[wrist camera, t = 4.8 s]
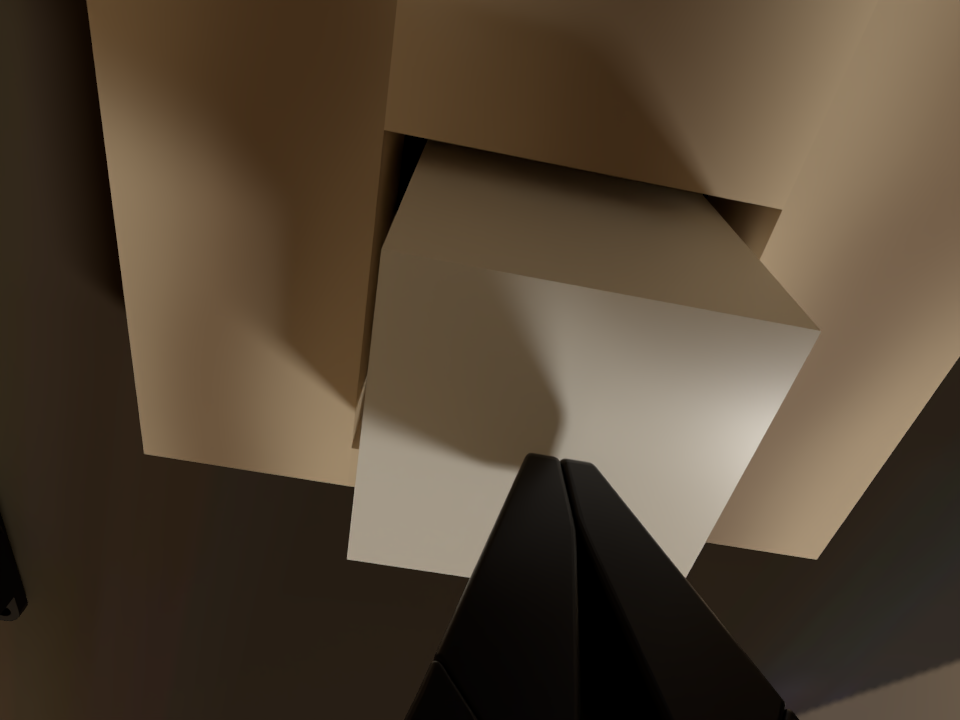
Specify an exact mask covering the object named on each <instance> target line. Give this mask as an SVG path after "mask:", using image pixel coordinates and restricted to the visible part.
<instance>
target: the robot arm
mask: <svg viewBox="0 0 960 720" xmlns="http://www.w3.org/2000/svg"><path fill="white" fill-rule="evenodd" d="M27 605H28V601H27V598H26V595H25V592H24V588H23V585H22V582H21V579H20V575H19V572H18V569H17V566H16V562H15V559H14V556H13V553H12V549H11V546H10V543H9V540H8V536H7V533H6V530H5V527H4V523H3V520H2V517H1V514H0V620H4V621H13V620H16V619H17V618H18V617H19V616H20V615H21V614H22V612H23V611H24V609H25V608H26V607H27ZM404 720H799V719H798V718H797V716H796V715H795V714H794V713H793V711H791V710H790V709H786V710H785V702H784V701H783V699H782V698H781V697H780V696H779V694H778V693H777V692H776V691H775V689H774V688H773V687H772V686H771V684H770V683H769V682H768V681H767V679H766V678H765V677H764V676H763V674H762V673H761V672H760V671H759V669H758V668H757V667H756V666H755V664H754V663H753V662H752V661H751V659H750V658H749V657H748V656H747V654H746V653H745V652H744V651H743V649H742V648H741V647H740V646H739V644H738V643H737V642H736V641H735V639H734V638H733V637H732V636H731V634H730V633H729V632H728V631H727V629H726V628H725V627H724V626H723V624H722V623H721V622H720V621H719V619H718V618H717V617H716V616H715V614H714V613H713V612H712V611H711V609H710V608H709V607H708V606H707V604H706V603H705V602H704V601H703V599H702V598H701V597H700V596H699V594H698V593H697V592H696V591H695V589H694V588H693V587H692V586H691V585H690V583H689V582H688V581H687V580H686V578H685V577H684V576H683V575H682V573H681V572H680V571H679V570H678V568H677V567H676V566H675V565H674V563H673V562H672V561H671V560H670V558H669V557H668V556H667V555H666V553H665V552H664V551H663V550H662V548H661V547H660V546H659V545H658V543H657V542H656V541H655V540H654V538H653V537H652V536H651V535H650V533H649V532H648V531H647V530H646V528H645V527H644V526H643V525H642V523H641V522H640V521H639V520H638V518H637V517H636V516H635V515H634V513H633V512H632V511H631V510H630V508H629V507H628V506H627V505H626V503H625V502H624V501H623V500H622V498H621V497H620V496H619V495H618V493H617V492H616V491H615V490H614V488H613V487H612V486H611V485H610V483H609V482H608V481H607V480H606V478H605V477H604V476H603V475H602V473H601V472H600V471H599V470H598V468H597V467H596V466H595V465H594V464H592V463H590V462H585V461H579V460H573V459H567V458H564V459H562V460H560V461H559V459H558V458H556V457H554V456H549V455H543V454H537V453H528V454H527V455H526V456H525V458H524V460H523V462H522V464H521V467H520V469H519V471H518V473H517V475H516V478H515V480H514V482H513V484H512V487H511V489H510V491H509V493H508V495H507V498H506V500H505V502H504V504H503V506H502V509H501V511H500V513H499V515H498V517H497V520H496V522H495V524H494V526H493V528H492V531H491V533H490V535H489V537H488V539H487V542H486V544H485V546H484V548H483V550H482V553H481V555H480V557H479V559H478V561H477V564H476V566H475V568H474V570H473V573H472V575H471V577H470V579H469V581H468V584H467V586H466V588H465V590H464V592H463V595H462V597H461V599H460V601H459V603H458V606H457V608H456V610H455V612H454V614H453V617H452V619H451V621H450V623H449V625H448V628H447V630H446V632H445V634H444V636H443V639H442V641H441V643H440V645H439V647H438V650H437V652H436V654H435V657H434V661H433V662H432V663H431V664H430V666H429V668H428V671H427V673H426V675H425V677H424V680H423V682H422V684H421V686H420V688H419V691H418V693H417V695H416V697H415V699H414V701H413V703H412V705H411V707H410V709H409V711H408V713H407V715H406V717H405V719H404Z"/></svg>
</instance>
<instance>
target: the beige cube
mask: <svg viewBox="0 0 960 720" xmlns="http://www.w3.org/2000/svg"><path fill="white" fill-rule="evenodd" d="M820 333H821V330H820V329H819V328H818V327H817V325H816V324H815V323H814V322H813V321H812V320H811V319H810V317H809V316H808V315H807V314H806V313H805V312H804V311H803V309H802V308H801V307H800V306H799V305H798V304H797V302H796V301H795V300H794V299H793V298H792V297H791V296H790V294H789V293H788V292H787V291H786V290H785V289H784V288H783V286H782V285H781V284H780V283H779V282H778V281H777V280H776V278H775V277H774V276H773V275H772V274H771V273H770V272H769V270H768V269H767V268H766V267H765V266H764V265H763V263H762V262H761V261H760V260H759V259H758V258H757V257H756V255H755V254H754V253H753V252H752V251H751V250H750V249H749V247H748V246H747V245H746V244H745V243H744V242H743V241H742V239H741V238H740V237H739V236H738V235H737V234H736V233H735V231H734V230H733V229H732V228H731V227H730V226H729V225H728V223H727V222H726V221H725V220H724V219H723V218H722V216H721V215H720V214H719V213H718V212H717V211H716V210H715V208H714V207H713V206H712V205H711V204H710V203H709V202H708V200H707V199H706V198H705V197H704V196H703V195H702V194H698V193H693V192H688V191H683V190H678V189H673V188H668V187H663V186H658V185H653V184H648V183H643V182H638V181H633V180H628V179H623V178H618V177H613V176H608V175H603V174H598V173H593V172H588V171H583V170H578V169H573V168H568V167H563V166H558V165H553V164H548V163H543V162H538V161H533V160H528V159H523V158H518V157H513V156H508V155H503V154H498V153H493V152H488V151H483V150H478V149H473V148H468V147H463V146H458V145H453V144H448V143H443V142H438V141H433V140H427V142H426V145H425V147H424V149H423V152H422V154H421V156H420V159H419V161H418V164H417V166H416V168H415V171H414V173H413V175H412V178H411V180H410V183H409V185H408V187H407V190H406V192H405V194H404V197H403V199H402V201H401V204H400V206H399V209H398V211H397V213H396V216H395V218H394V220H393V223H392V225H391V228H390V230H389V232H388V235H387V237H386V239H385V242H384V244H383V247H382V249H381V256H380V265H379V274H378V284H377V293H376V302H375V311H374V320H373V329H372V338H371V347H370V356H369V365H368V374H367V383H366V392H365V401H364V410H363V419H362V428H361V437H360V446H359V455H358V464H357V473H356V482H355V491H354V500H353V509H352V518H351V527H350V536H349V545H348V554H347V559H348V560H355V561H362V562H369V563H375V564H382V565H389V566H396V567H402V568H409V569H416V570H422V571H429V572H436V573H443V574H449V575H456V576H463V577H471V575H472V573H473V570H474V568H475V566H476V564H477V561H478V559H479V557H480V555H481V553H482V550H483V548H484V546H485V544H486V542H487V539H488V537H489V535H490V533H491V531H492V528H493V526H494V524H495V522H496V520H497V517H498V515H499V513H500V511H501V509H502V506H503V504H504V502H505V500H506V498H507V495H508V493H509V491H510V489H511V487H512V484H513V482H514V480H515V478H516V475H517V473H518V471H519V469H520V467H521V464H522V462H523V460H524V458H525V456H526V455H527V454H528V453H537V454H543V455H549V456H554V457H556V458H558V459H559V461H560V460H562V459H564V458H567V459H573V460H579V461H585V462H590V463H592V464H594V465H595V466H596V467H597V468H598V470H599V471H600V472H601V473H602V475H603V476H604V477H605V478H606V480H607V481H608V482H609V483H610V485H611V486H612V487H613V488H614V490H615V491H616V492H617V493H618V495H619V496H620V497H621V498H622V500H623V501H624V502H625V503H626V505H627V506H628V507H629V508H630V510H631V511H632V512H633V513H634V515H635V516H636V517H637V518H638V520H639V521H640V522H641V523H642V525H643V526H644V527H645V528H646V530H647V531H648V532H649V533H650V535H651V536H652V537H653V538H654V540H655V541H656V542H657V543H658V545H659V546H660V547H661V548H662V550H663V551H664V552H665V553H666V555H667V556H668V557H669V558H670V560H671V561H672V562H673V563H674V565H675V566H676V567H677V568H678V570H679V571H680V572H681V573H682V575H683V576H684V577H685V578H686V576H687V575H688V573H689V571H690V569H691V567H692V566H693V564H694V562H695V560H696V558H697V557H698V555H699V553H700V551H701V549H702V547H703V546H704V544H705V542H706V540H707V538H708V537H709V535H710V533H711V531H712V529H713V527H714V526H715V524H716V522H717V520H718V518H719V517H720V515H721V513H722V511H723V509H724V507H725V506H726V504H727V502H728V500H729V498H730V497H731V495H732V493H733V491H734V489H735V487H736V486H737V484H738V482H739V480H740V478H741V477H742V475H743V473H744V471H745V469H746V467H747V466H748V464H749V462H750V460H751V458H752V457H753V455H754V453H755V451H756V449H757V447H758V446H759V444H760V442H761V440H762V438H763V437H764V435H765V433H766V431H767V429H768V428H769V426H770V424H771V422H772V420H773V418H774V417H775V415H776V413H777V411H778V409H779V408H780V406H781V404H782V402H783V400H784V398H785V397H786V395H787V393H788V391H789V389H790V388H791V386H792V384H793V382H794V380H795V378H796V377H797V375H798V373H799V371H800V369H801V368H802V366H803V364H804V362H805V360H806V358H807V357H808V355H809V353H810V351H811V349H812V348H813V346H814V344H815V342H816V340H817V338H818V337H819V335H820Z"/></svg>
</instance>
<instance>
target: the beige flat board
mask: <svg viewBox="0 0 960 720" xmlns="http://www.w3.org/2000/svg"><path fill="white" fill-rule="evenodd" d="M86 1H87V9H88V17H89V24H90V32H91V40H92V48H93V56H94V64H95V72H96V79H97V87H98V95H99V103H100V111H101V119H102V126H103V134H104V142H105V150H106V158H107V166H108V174H109V181H110V189H111V197H112V205H113V213H114V221H115V228H116V236H117V244H118V252H119V260H120V268H121V276H122V283H123V291H124V299H125V307H126V315H127V323H128V330H129V338H130V346H131V354H132V362H133V370H134V378H135V385H136V393H137V401H138V409H139V417H140V425H141V433H142V440H143V448H144V454H148V455H154V456H161V457H167V458H173V459H180V460H186V461H193V462H199V463H205V464H212V465H218V466H224V467H231V468H237V469H243V470H250V471H256V472H263V473H269V474H275V475H282V476H288V477H294V478H301V479H307V480H313V481H320V482H326V483H333V484H339V485H345V486H352V487H355V482H356V473H357V464H358V455H359V446H360V437H361V428H362V419H363V410H364V401H365V392H366V383H367V374H368V365H369V356H370V347H371V338H372V329H373V320H374V311H375V302H376V293H377V284H378V274H379V265H380V256H381V249H382V247H383V244H384V242H385V239H386V237H387V235H388V232H389V230H390V228H391V225H392V223H393V220H394V218H395V214H396V205H397V197H398V189H399V180H400V172H401V163H402V155H403V147H404V138H405V134H406V135H411V136H416V137H421V138H426V139H431V140H436V141H441V142H446V143H451V144H456V145H461V146H466V147H471V148H476V149H481V150H486V151H491V152H496V153H501V154H506V155H511V156H516V157H521V158H526V159H531V160H536V161H541V162H546V163H551V164H556V165H562V166H566V167H572V168H577V169H582V170H587V171H592V172H597V173H602V174H607V175H612V176H617V177H622V178H627V179H632V180H637V181H642V182H647V183H652V184H657V185H662V186H667V187H672V188H677V189H682V190H687V191H692V192H697V193H702V194H707V195H708V198H707V200H708V202H709V203H710V204H711V205H712V206H713V207H714V208H715V210H716V211H717V212H718V213H719V214H720V215H721V216H722V218H723V219H724V220H725V221H726V222H727V223H728V225H729V226H730V227H731V228H732V229H733V230H734V231H735V233H736V234H737V235H738V236H739V237H740V238H741V239H742V241H743V242H744V243H745V244H746V245H747V246H748V247H749V249H750V250H751V251H752V252H753V253H754V254H755V255H756V257H757V258H758V259H759V260H760V261H761V262H762V263H763V265H764V266H765V267H766V268H767V269H768V270H769V272H770V273H771V274H772V275H773V276H774V277H775V278H776V280H777V281H778V282H779V283H780V284H781V285H782V286H783V288H784V289H785V290H786V291H787V292H788V293H789V294H790V296H791V297H792V298H793V299H794V300H795V301H796V302H797V304H798V305H799V306H800V307H801V308H802V309H803V311H804V312H805V313H806V314H807V315H808V316H809V317H810V319H811V320H812V321H813V322H814V323H815V324H816V325H817V327H818V328H819V329H820V330H821V333H820V335H819V337H818V338H817V340H816V342H815V344H814V346H813V348H812V349H811V351H810V353H809V355H808V357H807V358H806V360H805V362H804V364H803V366H802V368H801V369H800V371H799V373H798V375H797V377H796V378H795V380H794V382H793V384H792V386H791V388H790V389H789V391H788V393H787V395H786V397H785V398H784V400H783V402H782V404H781V406H780V408H779V409H778V411H777V413H776V415H775V417H774V418H773V420H772V422H771V424H770V426H769V428H768V429H767V431H766V433H765V435H764V437H763V438H762V440H761V442H760V444H759V446H758V447H757V449H756V451H755V453H754V455H753V457H752V458H751V460H750V462H749V464H748V466H747V467H746V469H745V471H744V473H743V475H742V477H741V478H740V480H739V482H738V484H737V486H736V487H735V489H734V491H733V493H732V495H731V497H730V498H729V500H728V502H727V504H726V506H725V507H724V509H723V511H722V513H721V515H720V517H719V518H718V520H717V522H716V524H715V526H714V527H713V529H712V531H711V533H710V535H709V537H708V538H707V540H706V542H708V543H714V544H721V545H727V546H733V547H740V548H746V549H752V550H759V551H765V552H771V553H778V554H784V555H791V556H797V557H803V558H810V559H816V560H817V558H818V557H819V556H820V554H821V553H822V551H823V550H824V548H825V547H826V546H827V544H828V543H829V541H830V540H831V539H832V537H833V536H834V534H835V533H836V531H837V530H838V529H839V527H840V526H841V524H842V523H843V521H844V520H845V519H846V517H847V516H848V514H849V513H850V511H851V510H852V509H853V507H854V506H855V504H856V503H857V502H858V500H859V499H860V497H861V496H862V494H863V493H864V492H865V490H866V489H867V487H868V486H869V484H870V483H871V482H872V480H873V479H874V477H875V476H876V474H877V473H878V472H879V470H880V469H881V467H882V466H883V465H884V463H885V462H886V460H887V459H888V457H889V456H890V455H891V453H892V452H893V450H894V449H895V447H896V446H897V445H898V443H899V442H900V440H901V439H902V437H903V436H904V435H905V433H906V432H907V430H908V429H909V428H910V426H911V425H912V423H913V422H914V420H915V419H916V418H917V416H918V415H919V413H920V412H921V410H922V409H923V408H924V406H925V405H926V403H927V402H928V400H929V399H930V398H931V396H932V395H933V393H934V392H935V391H936V389H937V388H938V386H939V385H940V383H941V382H942V381H943V379H944V378H945V376H946V375H947V373H948V372H949V371H950V369H951V368H952V366H953V365H954V363H955V362H956V361H957V359H958V358H959V356H960V0H86Z"/></svg>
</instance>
